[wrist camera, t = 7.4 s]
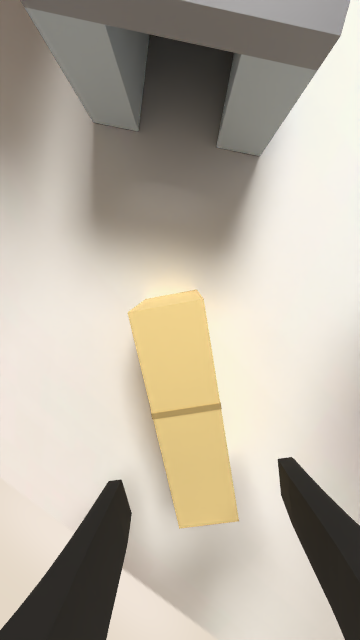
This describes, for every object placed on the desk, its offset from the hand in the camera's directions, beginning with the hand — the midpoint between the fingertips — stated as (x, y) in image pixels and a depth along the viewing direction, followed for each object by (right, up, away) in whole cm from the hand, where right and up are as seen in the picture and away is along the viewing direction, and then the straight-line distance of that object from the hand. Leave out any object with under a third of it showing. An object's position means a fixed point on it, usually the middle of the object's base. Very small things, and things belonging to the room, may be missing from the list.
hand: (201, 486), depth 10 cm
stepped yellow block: (0, +3, +5) cm, 6 cm away
